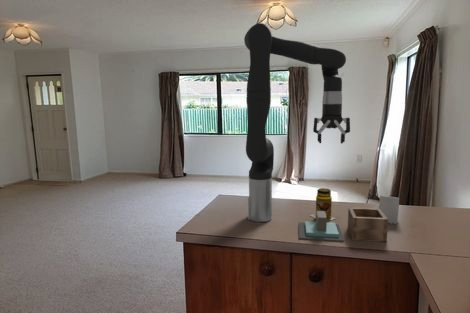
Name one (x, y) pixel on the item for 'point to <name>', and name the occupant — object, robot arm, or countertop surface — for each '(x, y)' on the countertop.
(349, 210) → the storage box
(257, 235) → the countertop surface
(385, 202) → the grey rectangular block
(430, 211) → the countertop surface
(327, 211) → the condiment
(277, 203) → the countertop surface
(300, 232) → the mat
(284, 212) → the countertop surface
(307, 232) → the lid
